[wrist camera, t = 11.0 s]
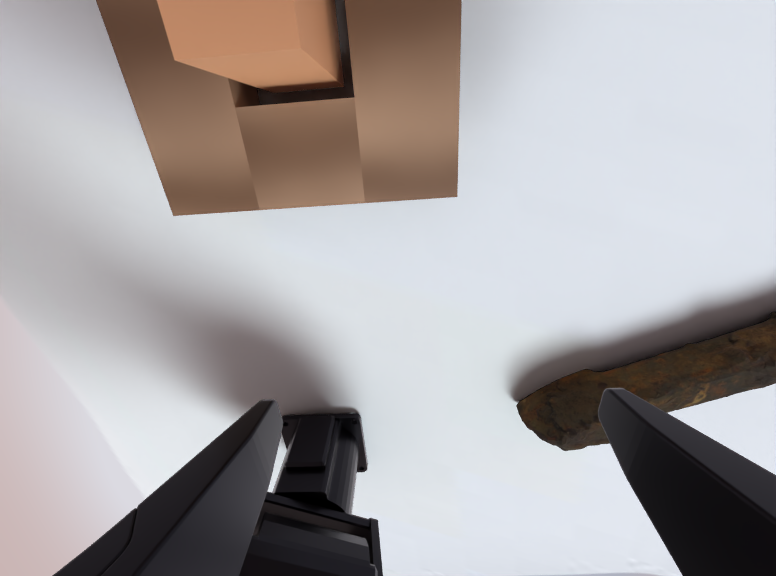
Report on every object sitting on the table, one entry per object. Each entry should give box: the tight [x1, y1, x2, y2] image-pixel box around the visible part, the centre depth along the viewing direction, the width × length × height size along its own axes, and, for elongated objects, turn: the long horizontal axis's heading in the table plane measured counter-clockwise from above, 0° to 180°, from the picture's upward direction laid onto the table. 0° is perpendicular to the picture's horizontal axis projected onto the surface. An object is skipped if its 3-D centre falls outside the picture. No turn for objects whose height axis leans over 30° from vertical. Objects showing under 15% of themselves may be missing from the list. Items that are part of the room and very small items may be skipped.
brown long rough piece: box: [517, 312, 776, 451], centre depth 21 cm, size 19×4×5 cm, turn 113°
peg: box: [157, 0, 344, 93], centre depth 12 cm, size 4×4×8 cm
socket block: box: [96, 0, 461, 216], centre depth 14 cm, size 14×14×3 cm
